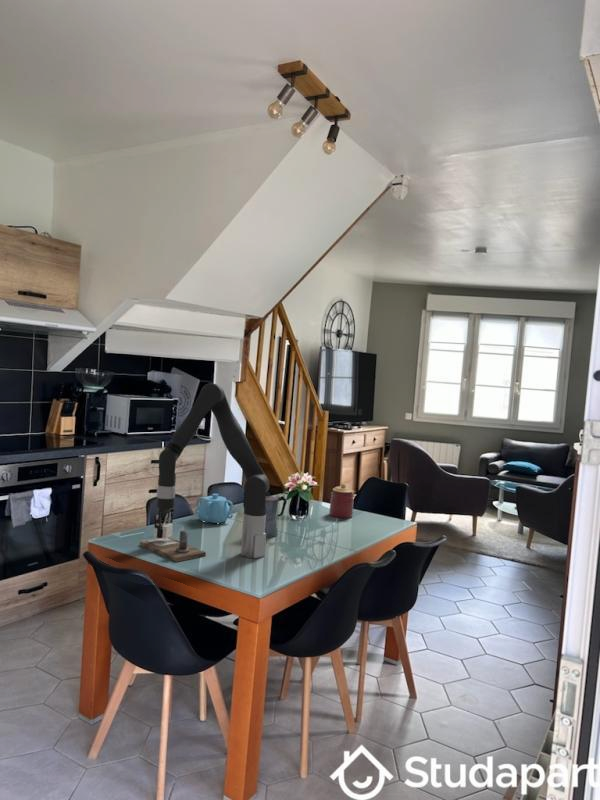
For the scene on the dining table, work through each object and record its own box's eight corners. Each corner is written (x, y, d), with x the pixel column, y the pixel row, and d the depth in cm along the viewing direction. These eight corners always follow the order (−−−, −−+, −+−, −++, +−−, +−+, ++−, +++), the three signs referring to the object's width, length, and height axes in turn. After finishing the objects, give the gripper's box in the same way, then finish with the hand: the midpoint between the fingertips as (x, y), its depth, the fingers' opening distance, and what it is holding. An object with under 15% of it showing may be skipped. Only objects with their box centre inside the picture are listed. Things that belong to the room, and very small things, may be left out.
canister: (356, 518, 329) (358, 486, 328) (333, 518, 325) (336, 485, 324) (347, 512, 341) (350, 481, 340) (326, 512, 338) (328, 481, 337)
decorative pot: (193, 517, 304) (194, 490, 303) (223, 516, 310) (225, 490, 310) (202, 526, 289) (203, 498, 288) (234, 524, 296) (236, 497, 295)
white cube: (166, 539, 250) (166, 527, 249) (153, 537, 251) (154, 525, 251) (171, 535, 255) (172, 523, 255) (159, 533, 256) (160, 522, 256)
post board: (205, 555, 245) (207, 532, 244) (176, 562, 234) (178, 537, 234) (168, 539, 262) (169, 518, 262) (139, 545, 252) (141, 522, 252)
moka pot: (249, 532, 284) (252, 490, 283) (279, 531, 291) (282, 489, 290) (257, 538, 275) (260, 495, 274) (287, 536, 282) (291, 494, 281)
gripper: (166, 500, 244) (163, 541, 245) (181, 494, 258) (178, 533, 259) (149, 498, 246) (146, 539, 247) (165, 491, 260) (162, 530, 261)
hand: (162, 535), depth 253 cm, fingers closed on white cube, 5 cm apart
